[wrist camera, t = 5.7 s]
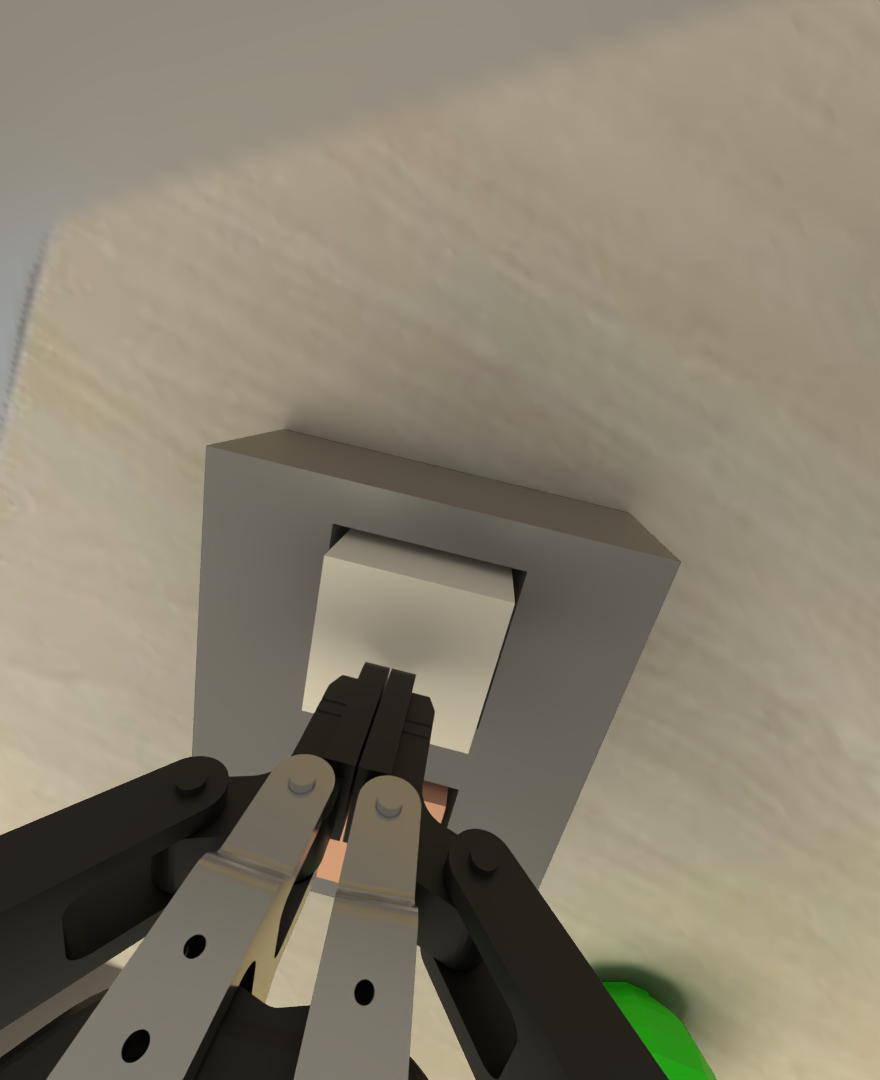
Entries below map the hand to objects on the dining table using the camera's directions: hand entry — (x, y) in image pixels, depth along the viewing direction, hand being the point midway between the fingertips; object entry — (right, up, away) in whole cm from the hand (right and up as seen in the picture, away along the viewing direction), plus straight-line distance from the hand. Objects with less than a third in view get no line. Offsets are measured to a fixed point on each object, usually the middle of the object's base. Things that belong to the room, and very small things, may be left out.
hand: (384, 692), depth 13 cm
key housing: (0, -2, +11) cm, 11 cm away
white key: (+1, +1, +5) cm, 5 cm away
